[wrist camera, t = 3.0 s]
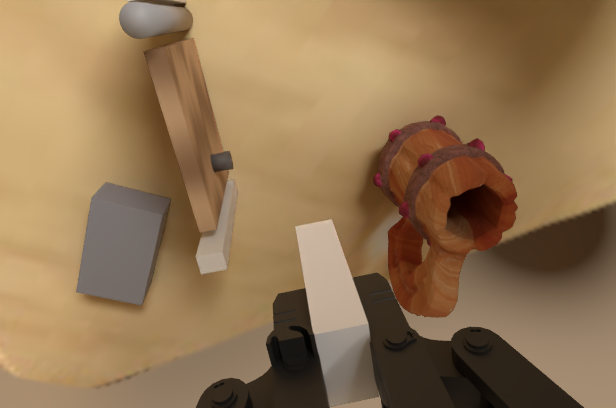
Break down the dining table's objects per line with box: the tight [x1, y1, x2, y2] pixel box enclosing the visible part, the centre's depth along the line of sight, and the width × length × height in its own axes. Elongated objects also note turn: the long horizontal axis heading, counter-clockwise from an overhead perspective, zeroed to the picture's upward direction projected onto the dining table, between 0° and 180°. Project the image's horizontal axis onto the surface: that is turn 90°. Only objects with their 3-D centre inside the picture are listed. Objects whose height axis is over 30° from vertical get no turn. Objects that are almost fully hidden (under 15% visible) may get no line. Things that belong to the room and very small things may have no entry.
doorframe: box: [119, 0, 238, 275], centre depth 32 cm, size 20×2×14 cm, turn 10°
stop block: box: [76, 182, 171, 305], centre depth 41 cm, size 10×6×4 cm, turn 161°
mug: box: [373, 115, 518, 317], centre depth 37 cm, size 15×8×15 cm, turn 163°
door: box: [144, 38, 233, 232], centre depth 33 cm, size 12×3×12 cm, turn 10°
